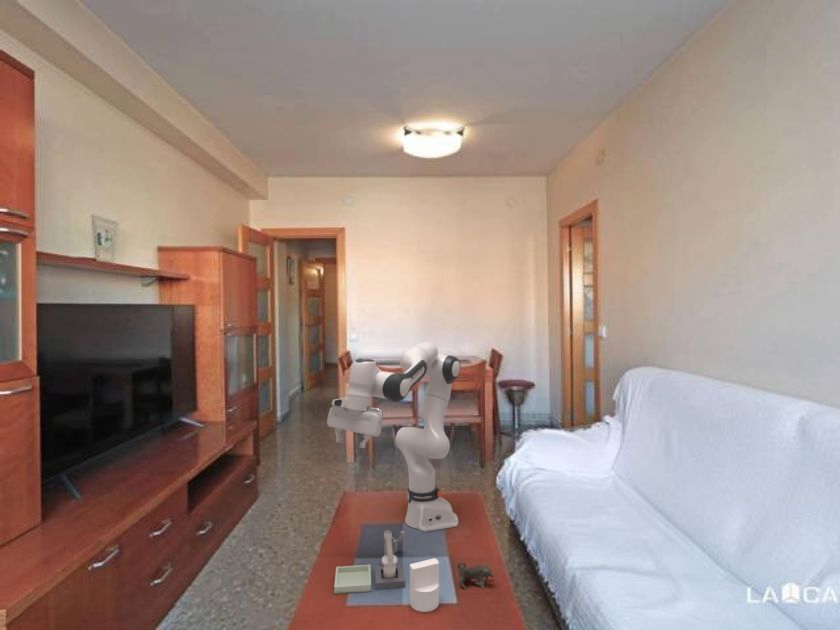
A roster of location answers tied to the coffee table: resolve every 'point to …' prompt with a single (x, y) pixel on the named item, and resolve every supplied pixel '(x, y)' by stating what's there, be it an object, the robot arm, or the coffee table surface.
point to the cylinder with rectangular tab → (424, 585)
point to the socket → (390, 582)
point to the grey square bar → (389, 546)
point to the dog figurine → (473, 574)
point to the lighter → (394, 541)
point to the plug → (389, 568)
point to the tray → (352, 579)
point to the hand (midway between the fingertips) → (350, 445)
